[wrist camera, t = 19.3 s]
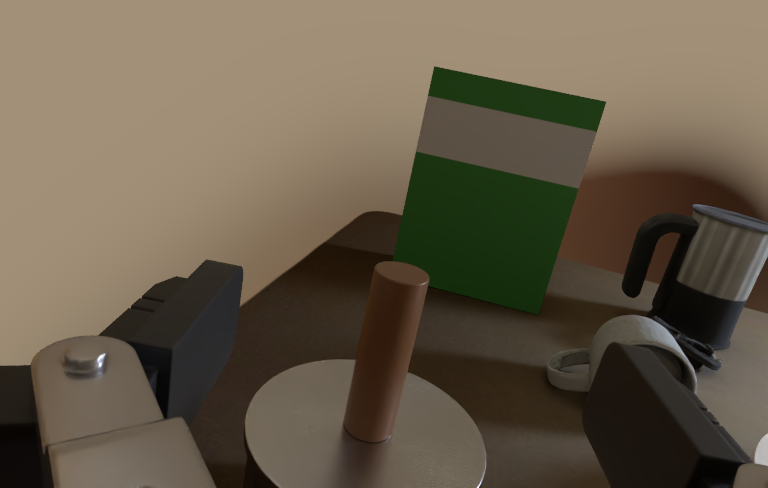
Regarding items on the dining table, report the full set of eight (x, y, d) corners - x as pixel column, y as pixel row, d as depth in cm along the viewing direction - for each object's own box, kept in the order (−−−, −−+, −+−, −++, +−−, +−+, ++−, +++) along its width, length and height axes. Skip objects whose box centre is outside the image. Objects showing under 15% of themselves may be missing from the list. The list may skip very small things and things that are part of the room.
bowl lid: (259, 572, 19) (295, 343, 16) (231, 380, 29) (250, 217, 26) (527, 527, 23) (596, 340, 20) (423, 373, 33) (458, 233, 30)
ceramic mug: (659, 392, 50) (688, 318, 47) (677, 445, 42) (713, 360, 40) (543, 357, 52) (566, 285, 50) (541, 401, 45) (567, 319, 42)
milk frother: (699, 318, 71) (744, 211, 66) (792, 390, 56) (860, 258, 51) (598, 303, 69) (637, 191, 64) (667, 373, 54) (725, 234, 49)
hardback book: (534, 291, 68) (594, 99, 61) (538, 314, 62) (606, 101, 54) (400, 256, 71) (441, 68, 63) (389, 275, 64) (434, 66, 56)
